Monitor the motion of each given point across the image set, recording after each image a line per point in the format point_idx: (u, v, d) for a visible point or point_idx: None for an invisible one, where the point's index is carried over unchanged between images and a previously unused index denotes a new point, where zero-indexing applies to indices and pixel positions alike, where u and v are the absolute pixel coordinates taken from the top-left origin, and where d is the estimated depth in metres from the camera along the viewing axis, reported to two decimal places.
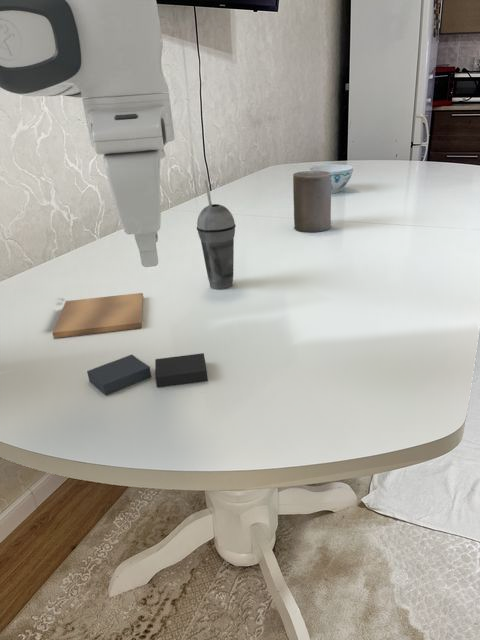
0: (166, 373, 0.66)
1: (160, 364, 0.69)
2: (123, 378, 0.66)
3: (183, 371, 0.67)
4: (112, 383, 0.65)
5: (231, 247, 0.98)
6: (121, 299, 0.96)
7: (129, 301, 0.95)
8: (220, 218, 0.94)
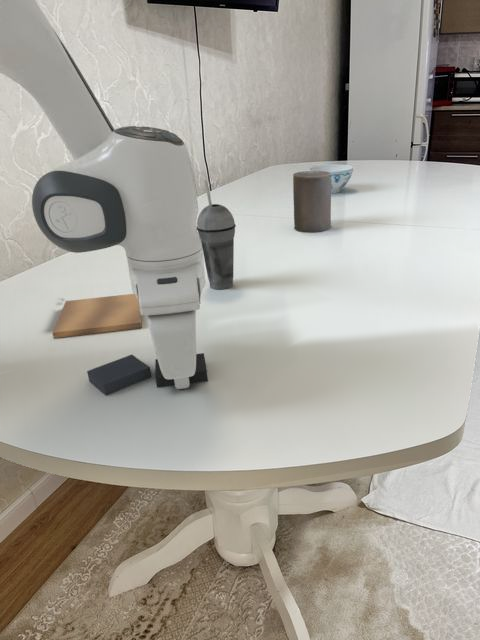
0: None
1: None
2: (123, 378, 0.66)
3: None
4: (112, 383, 0.65)
5: (231, 247, 0.98)
6: (121, 299, 0.96)
7: (129, 301, 0.95)
8: (220, 218, 0.94)
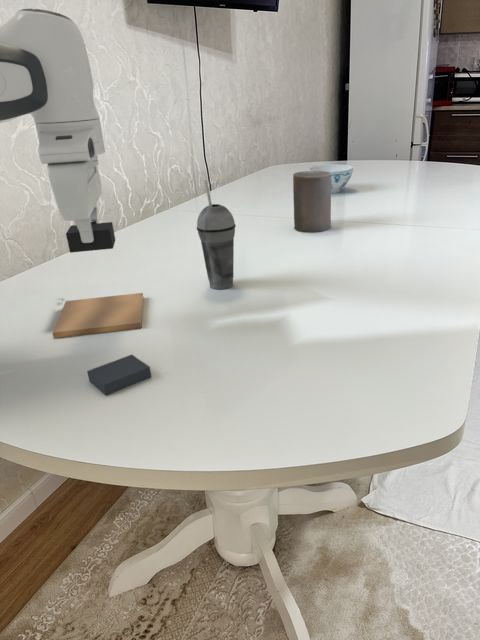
0: (75, 231, 0.80)
1: (73, 228, 0.82)
2: (123, 378, 0.66)
3: None
4: (112, 383, 0.65)
5: (231, 247, 0.98)
6: (121, 299, 0.96)
7: (129, 301, 0.95)
8: (220, 218, 0.94)
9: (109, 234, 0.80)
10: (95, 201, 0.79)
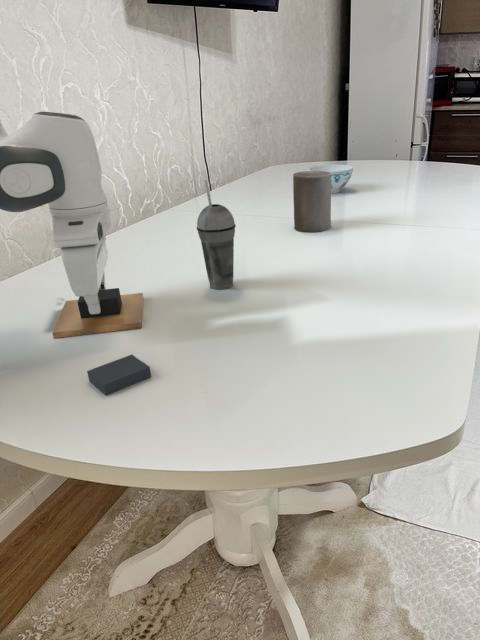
0: None
1: None
2: (123, 378, 0.66)
3: (99, 298, 0.88)
4: (112, 383, 0.65)
5: (231, 247, 0.98)
6: (121, 299, 0.96)
7: (129, 301, 0.95)
8: (220, 218, 0.94)
9: (116, 302, 0.88)
10: (103, 272, 0.87)
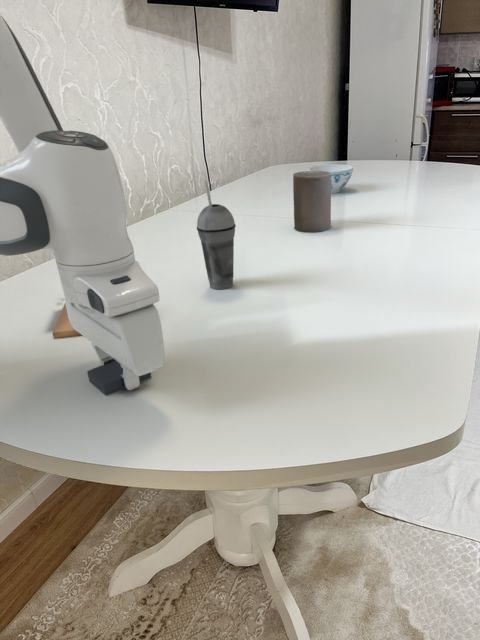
0: None
1: None
2: None
3: None
4: (112, 383, 0.65)
5: (231, 247, 0.98)
6: None
7: None
8: (220, 218, 0.94)
9: None
10: None
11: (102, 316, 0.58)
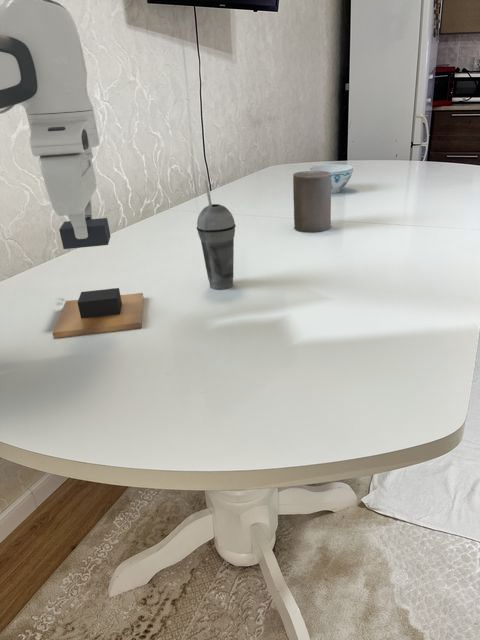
0: (86, 299, 0.88)
1: (83, 295, 0.90)
2: None
3: (99, 298, 0.88)
4: (67, 229, 0.77)
5: (231, 247, 0.98)
6: (121, 299, 0.96)
7: (129, 301, 0.95)
8: (220, 218, 0.94)
9: (116, 302, 0.88)
10: (89, 196, 0.77)
11: None
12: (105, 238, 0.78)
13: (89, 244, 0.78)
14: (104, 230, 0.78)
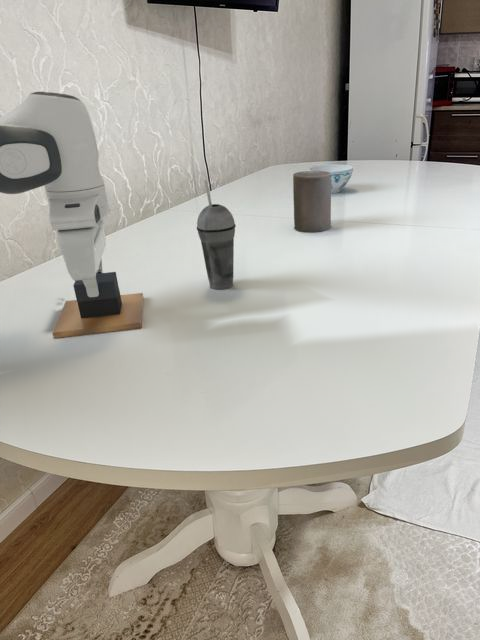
0: None
1: None
2: None
3: None
4: (80, 285, 0.86)
5: (231, 247, 0.98)
6: (121, 299, 0.96)
7: (129, 301, 0.95)
8: (220, 218, 0.94)
9: (116, 302, 0.88)
10: (100, 257, 0.86)
11: None
12: (114, 292, 0.88)
13: (100, 297, 0.88)
14: (113, 285, 0.87)
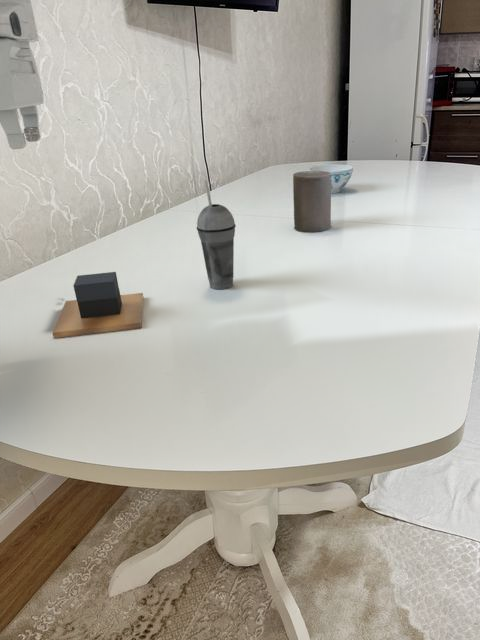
0: None
1: None
2: (90, 284, 0.86)
3: None
4: (80, 285, 0.86)
5: (231, 247, 0.98)
6: (121, 299, 0.96)
7: (129, 301, 0.95)
8: (220, 218, 0.94)
9: (116, 302, 0.88)
10: (29, 100, 0.68)
11: None
12: (114, 292, 0.88)
13: (100, 297, 0.88)
14: (113, 285, 0.87)
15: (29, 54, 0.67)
